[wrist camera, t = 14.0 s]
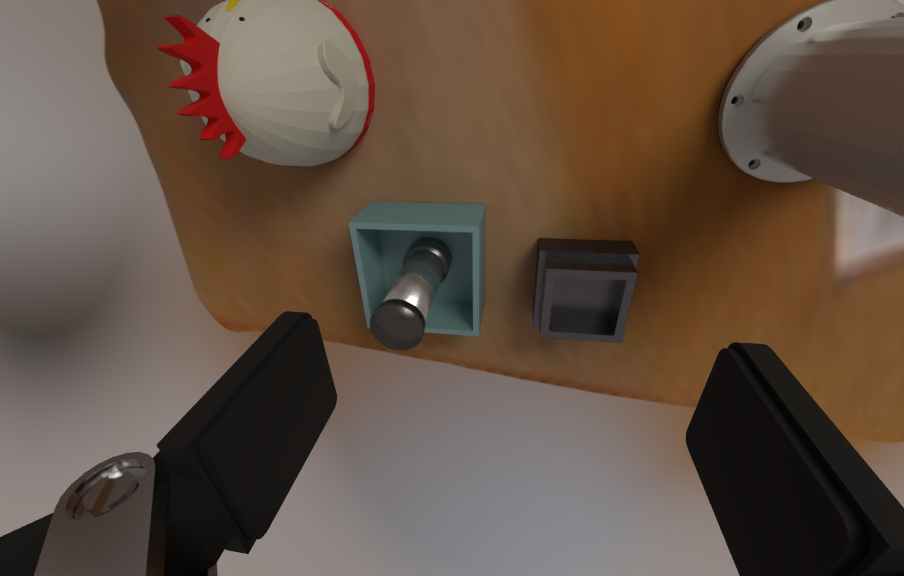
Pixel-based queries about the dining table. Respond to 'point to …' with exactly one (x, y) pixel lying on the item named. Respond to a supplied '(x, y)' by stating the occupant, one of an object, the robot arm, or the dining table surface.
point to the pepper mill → (411, 295)
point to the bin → (388, 240)
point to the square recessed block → (584, 288)
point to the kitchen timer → (276, 79)
